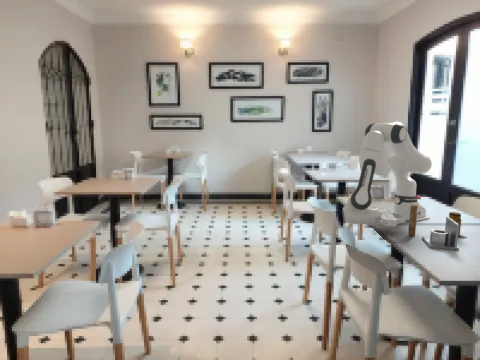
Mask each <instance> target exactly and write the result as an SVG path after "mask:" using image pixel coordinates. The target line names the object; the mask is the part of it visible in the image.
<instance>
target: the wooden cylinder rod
mask: <svg viewBox="0 0 480 360" xmlns="http://www.w3.org/2000/svg"><path fill="white" fill-rule="evenodd" d="M417 209H418V205H411V208H410V219H409V220H408V230H407V231H408V232H407V236H408V237H411V238H412V237H413V238H414V237H415V236H416V230H417V228H416V226H417V221H416V219H417Z"/></svg>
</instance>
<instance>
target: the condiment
mask: <svg viewBox="0 0 480 360" xmlns="http://www.w3.org/2000/svg"><path fill="white" fill-rule="evenodd" d="M448 217H449V218H451V219H452V220H454V221H455V222H456V223H458V224H459V233H458V239H459V238H461V239H463V238H466V236H464V235H463V234H461V227H462V214H461V213H460V212H457V211H456V212H455V211H450V212H449V213H448Z"/></svg>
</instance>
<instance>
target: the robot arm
mask: <svg viewBox="0 0 480 360" xmlns="http://www.w3.org/2000/svg"><path fill="white" fill-rule="evenodd" d="M385 144H389V146H390V149H391V150H392V153H391V154H389V155H388V157H387V159H386V166H387V168H388V169H390V171H391V172H392V173H393V176H394V178H395V194H394V202H393V203H394V204H393V208H392V212H391V210H389V209H384V208H377V207H370V206H371V204H372V202H373V199H372V193H371V189H372V184H373V180H374V175H375V172H376V170H377V168H378V166H379V163H380V162H381V159H382V156H383V152H384V146H385ZM358 157H359V158H358V164H359V166H360V175H359V180H358V184H357V187H356V188H355V190H354V191H352V192H351V193H350V194H349V197H348V199H347V202H346V203H345V205H344V206H343V207H342V210H341V214H342V218H343V221H344V222H345V223H347V224H350V225H351V224H352V225H367V226H376V227H377V226H379V224H380V225H381V226H384V227H397V226H398V224H405V223H406V221H409V219H410V208H411V205H418V209H417V219H416V222H419V221H424V220H429V219H431V217H430V216H429V215H428V214H427V213H426V212H427V210H426V208H425V207H424V206H423V205H422V204H421V203H420V202H419V201H420V200H421V199H422V196H420V195H417V181H416V180H415V179H413V178H412V177H411V176H410V173H411V174H427V173H428V172H429V171H430V170H431V168H432V165H433V164H432V160H431V158H430V156H427V155H425V154H424V153H422V152H420V150H419V149H418V148H417V147H415V145H414V144H413V142H412V139H411V137H410V135H409V133H408V130H407V128H406V127H405V125H404V124H403V123H402V122H399V121H393V122H379V123H377V122H375V123H369V125H367V127H366V128H365V130H364V139H363V141H362V144H361V147H360V151H359V156H358Z"/></svg>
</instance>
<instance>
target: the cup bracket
mask: <svg viewBox="0 0 480 360" xmlns="http://www.w3.org/2000/svg"><path fill="white" fill-rule="evenodd" d="M444 226H445V227H444V230H442V229H436V228H435V229H431V230H430V235H429V236H425V235H424V236H423V235H422V236H421V239H422V240H423V241H424V242H426V243H425V244H426V245H427V246H428V247H429V248H430V249H436V250H437V249H439V250H449V251H450V250H451V251H460V247H459V246H458V241H459V238H458V233H459V224H458V223H456V222H455V221H454V220H452V219H451V218H449V216H446V218H445V225H444Z"/></svg>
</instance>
